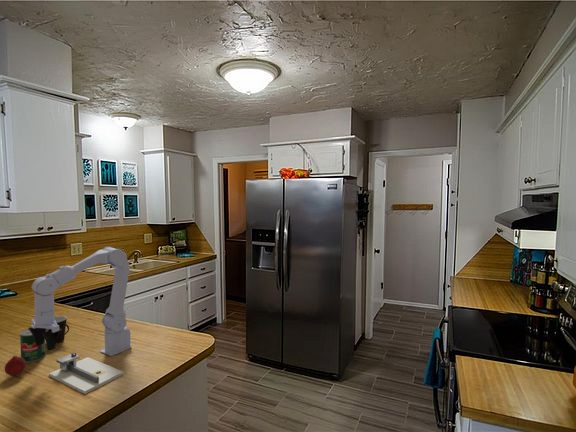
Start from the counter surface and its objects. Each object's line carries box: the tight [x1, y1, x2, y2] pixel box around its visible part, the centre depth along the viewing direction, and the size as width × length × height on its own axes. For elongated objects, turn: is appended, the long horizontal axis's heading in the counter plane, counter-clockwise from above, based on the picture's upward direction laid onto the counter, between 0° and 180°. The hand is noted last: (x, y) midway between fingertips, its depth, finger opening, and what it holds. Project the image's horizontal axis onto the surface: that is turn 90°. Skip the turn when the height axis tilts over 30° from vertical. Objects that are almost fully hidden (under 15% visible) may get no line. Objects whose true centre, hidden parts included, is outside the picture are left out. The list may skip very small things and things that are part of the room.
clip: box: [55, 352, 81, 372], centre depth 121 cm, size 6×4×5 cm, turn 152°
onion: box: [4, 354, 27, 377], centre depth 117 cm, size 6×6×8 cm
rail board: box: [48, 356, 124, 395], centre depth 119 cm, size 14×22×3 cm, turn 62°
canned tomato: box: [19, 329, 46, 363], centre depth 131 cm, size 8×8×11 cm
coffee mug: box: [45, 315, 70, 345], centre depth 145 cm, size 12×9×10 cm
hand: (45, 347), depth 119 cm, fingers open, 7 cm apart
